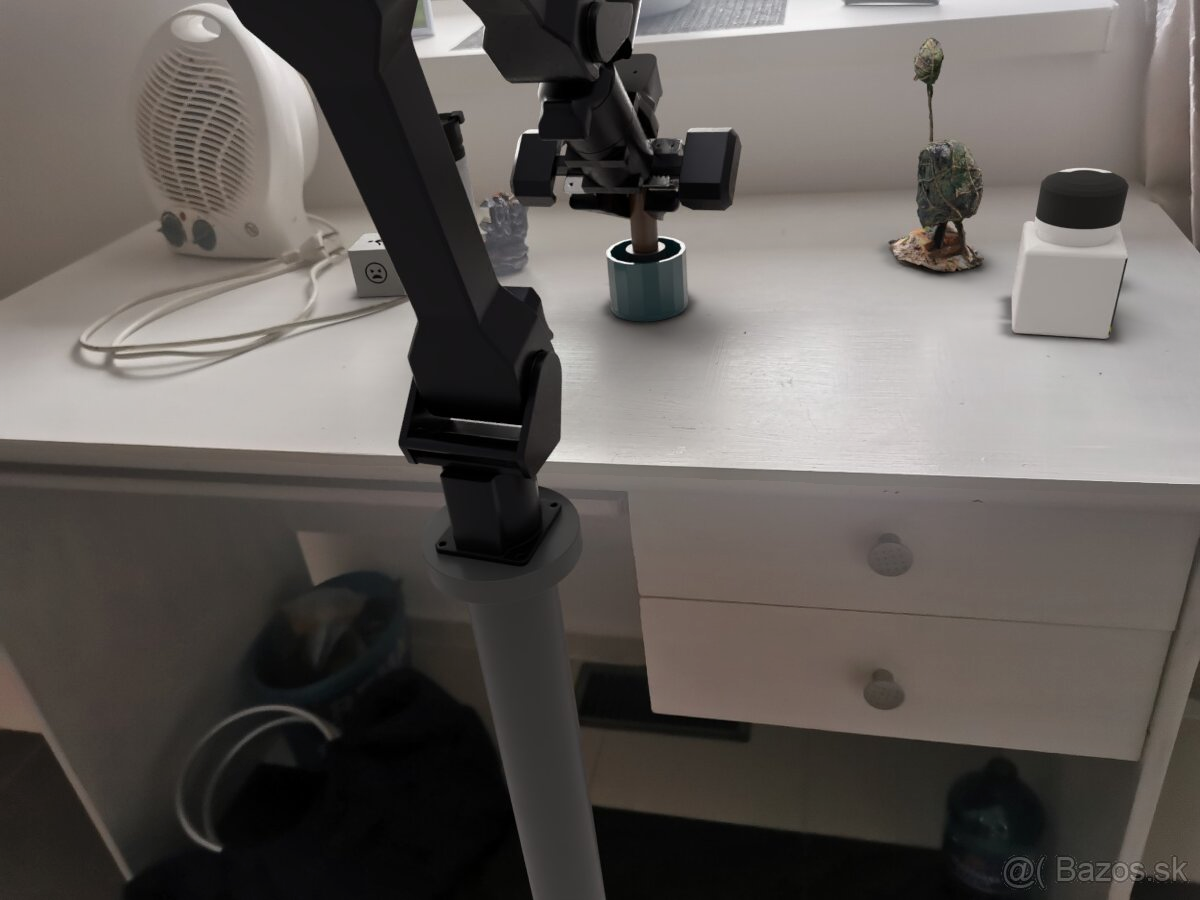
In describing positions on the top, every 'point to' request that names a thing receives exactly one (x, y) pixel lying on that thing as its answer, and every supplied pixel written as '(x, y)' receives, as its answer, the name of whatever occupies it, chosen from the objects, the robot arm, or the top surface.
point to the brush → (643, 233)
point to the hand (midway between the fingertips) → (648, 215)
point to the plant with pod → (941, 189)
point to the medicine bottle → (1072, 256)
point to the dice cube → (373, 268)
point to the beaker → (648, 283)
